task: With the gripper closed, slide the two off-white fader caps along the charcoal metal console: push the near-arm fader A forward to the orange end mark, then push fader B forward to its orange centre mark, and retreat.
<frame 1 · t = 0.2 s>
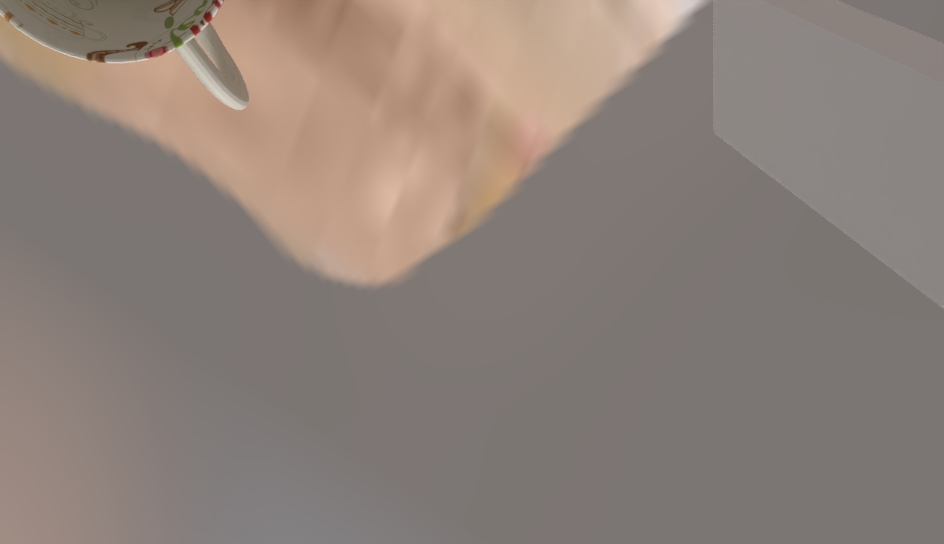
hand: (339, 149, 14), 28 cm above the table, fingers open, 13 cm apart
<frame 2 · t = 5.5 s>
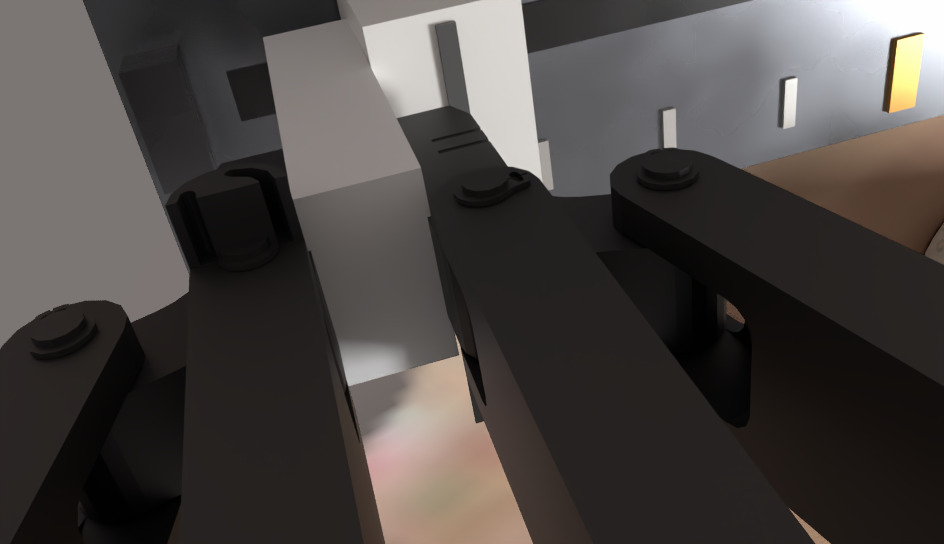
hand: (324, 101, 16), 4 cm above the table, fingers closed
fader a: (436, 94, 16), point 4 cm above the table, slide at -5.5 cm, touching gripper
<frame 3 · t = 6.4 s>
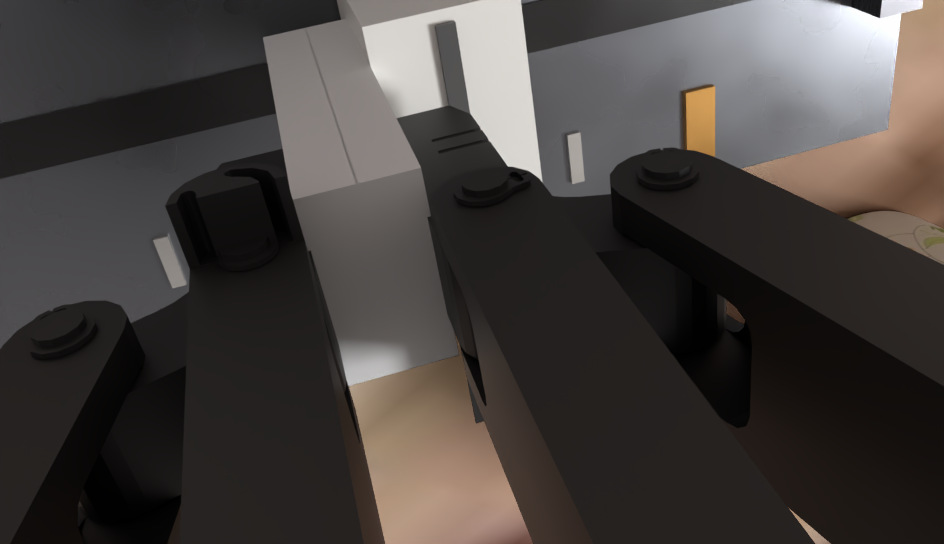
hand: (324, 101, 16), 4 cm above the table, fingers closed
mug: (906, 259, 27), on the table
fader a: (436, 94, 15), point 4 cm above the table, slide at -0.2 cm, touching gripper
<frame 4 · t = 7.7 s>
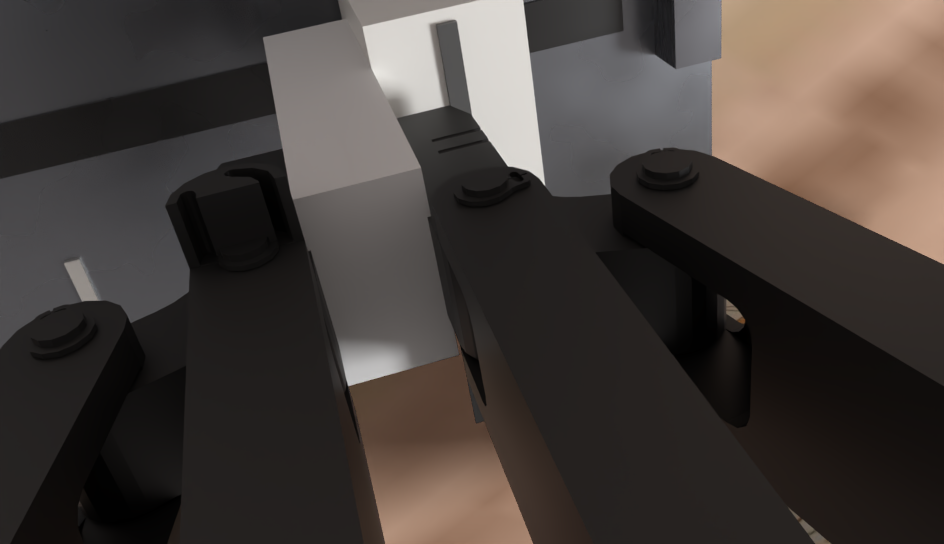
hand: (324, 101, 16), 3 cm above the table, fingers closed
mug: (769, 301, 26), on the table
fader a: (437, 94, 15), point 4 cm above the table, slide at 4.6 cm, touching gripper
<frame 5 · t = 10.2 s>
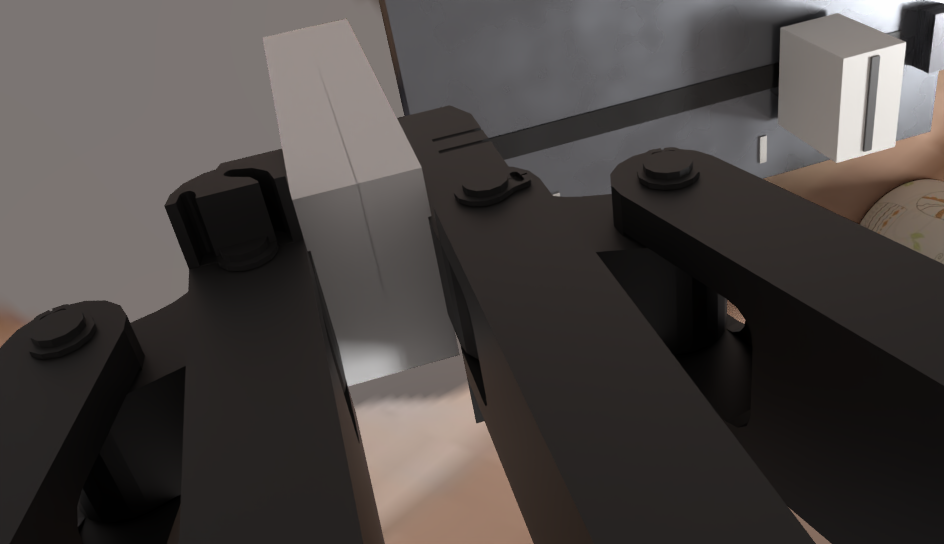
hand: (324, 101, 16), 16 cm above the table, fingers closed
mug: (939, 210, 43), on the table
fader a: (837, 86, 33), point 4 cm above the table, slide at 4.7 cm
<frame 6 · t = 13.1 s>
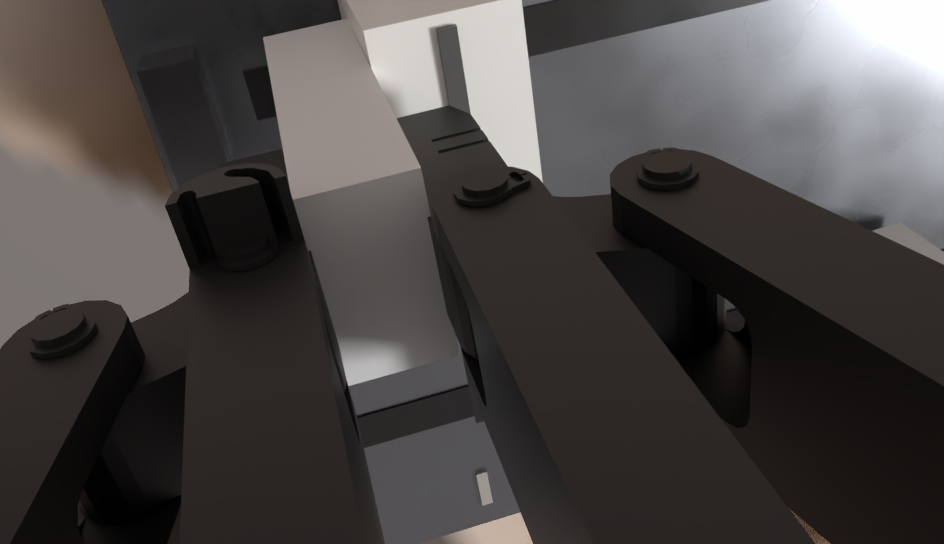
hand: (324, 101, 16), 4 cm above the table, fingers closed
console: (646, 155, 22), on the table
fader a: (902, 340, 22), point 4 cm above the table, slide at 4.7 cm
fader b: (437, 97, 15), point 4 cm above the table, slide at -5.7 cm, touching gripper
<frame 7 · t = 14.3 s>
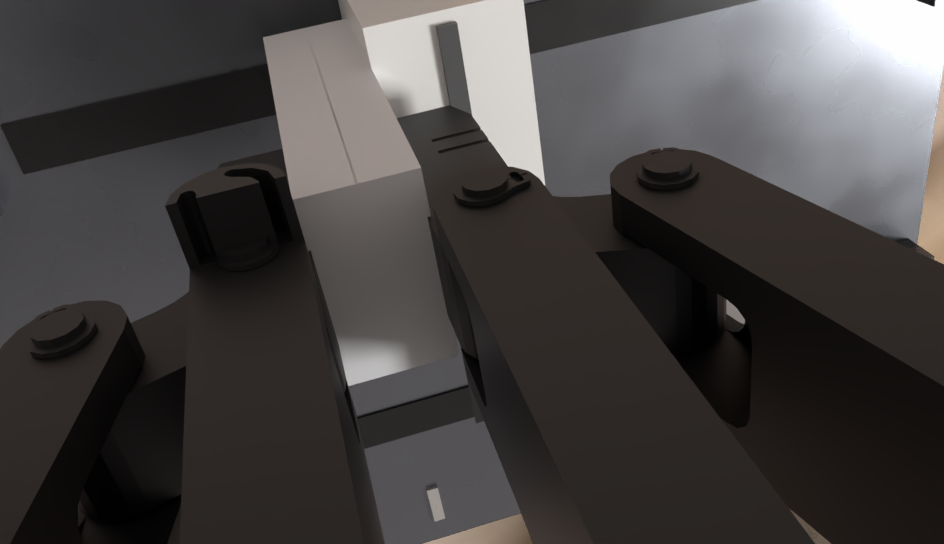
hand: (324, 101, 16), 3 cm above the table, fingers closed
console: (482, 196, 22), on the table
fader a: (743, 389, 21), point 4 cm above the table, slide at 4.7 cm
fader b: (437, 95, 15), point 4 cm above the table, slide at -1.3 cm, touching gripper
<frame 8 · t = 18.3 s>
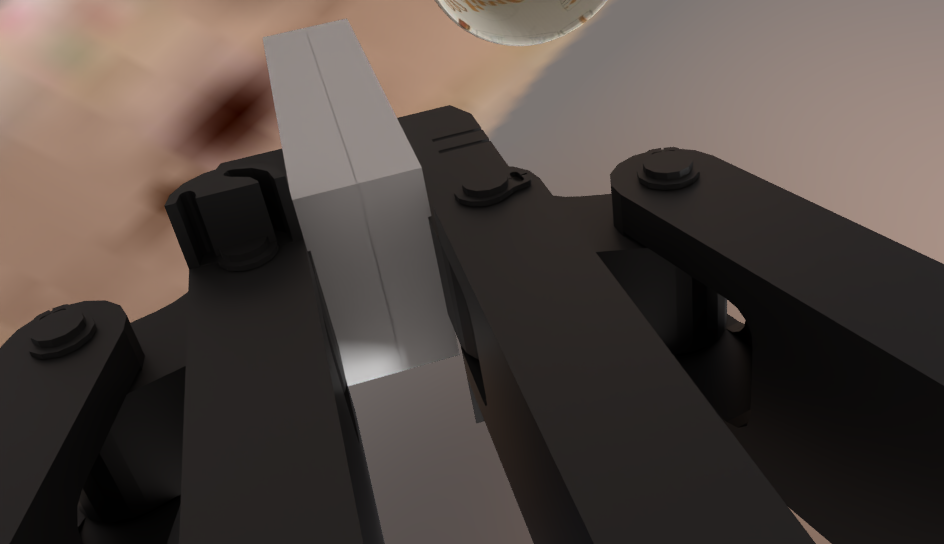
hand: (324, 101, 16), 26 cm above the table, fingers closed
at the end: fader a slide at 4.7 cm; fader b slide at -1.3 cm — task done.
